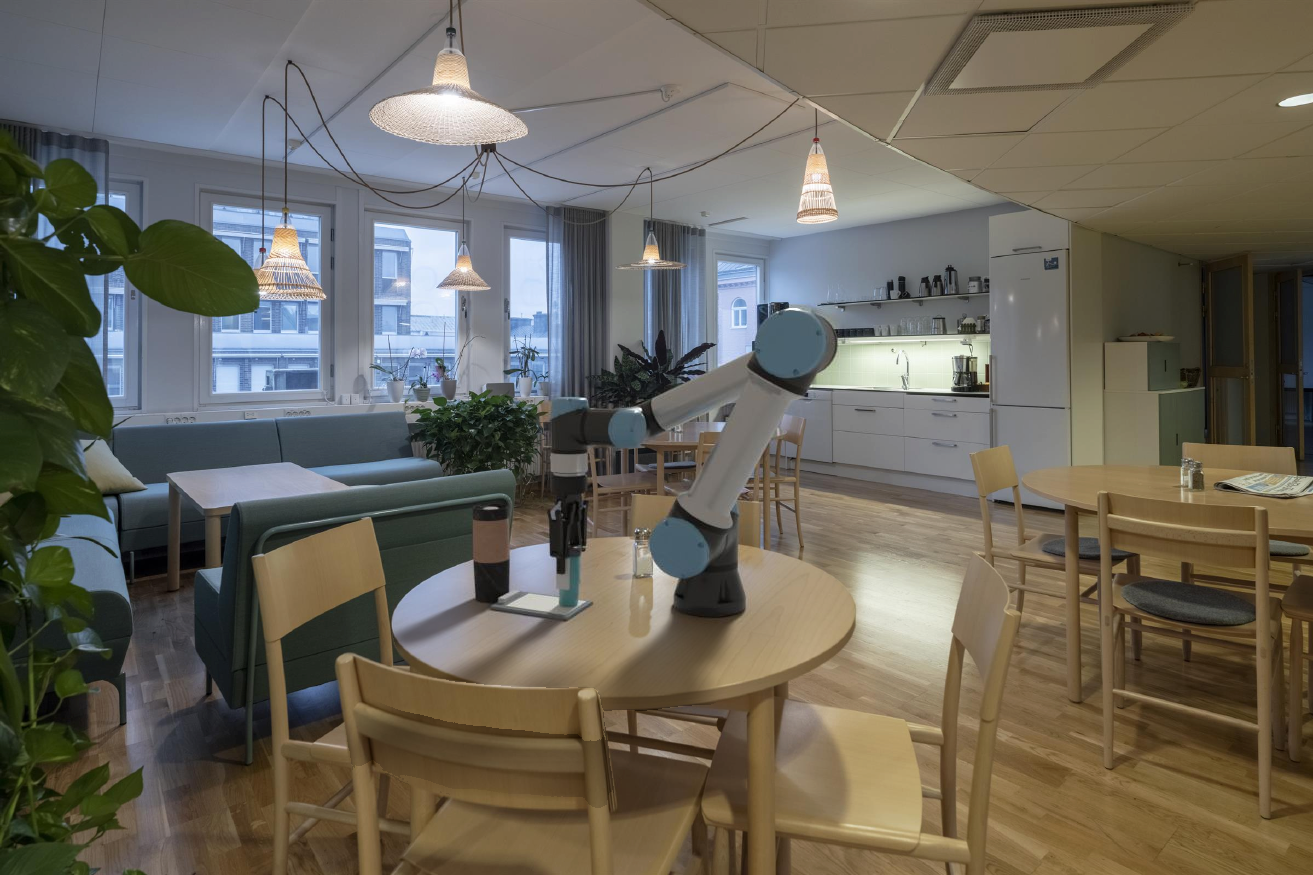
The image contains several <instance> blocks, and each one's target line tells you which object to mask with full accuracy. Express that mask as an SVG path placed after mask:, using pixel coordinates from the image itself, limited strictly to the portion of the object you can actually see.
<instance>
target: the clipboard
mask: <svg viewBox="0 0 1313 875" xmlns="http://www.w3.org/2000/svg"><path fill="white" fill-rule="evenodd" d="M593 604H594V600H588V599H580V598H578V604H577V605H575V606H562V605H560V604H559V595H551V594H543V593H535V592H528V591H521V590H517V589H513V590H510V591H509V593H507V594H505V595H503V596H501V597H499V598H498V602H496V603H493V604H492V605H490V610H496V611H503V612H509V613H514V614H515V613H517V614H521V615H522V614H523V615H528V616H529V615H530V616H536V617H542V618H549V619H555V620H562V621H563V620H564V621H569V620H571V619H572V618H574V617H575V616H577V615H579V613H582V612H583V611H584V610H586V609H588V608H589V607H591V606H592V605H593Z"/></svg>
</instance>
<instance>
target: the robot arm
mask: <svg viewBox="0 0 1313 875" xmlns="http://www.w3.org/2000/svg"><path fill="white" fill-rule="evenodd" d="M838 343H839V342H838V334H837V332H836V330H835V328H834V327H833V325H832V324H831V322H830V321H829V320H827V319H826V318H825V317H823V316H821V315H819V314H816V313H814V312H812V311H809V310H806V309H804V308H799V307H796V308H795V307H793V308H792V307H791V308H786V309H781V310H779V311H776V312H774V313H772V314H771V315H769V316H768V317H766V319H765V320H764V321H763V322H762V323H761V324H760V326H759V327H758V329H757V332H756V334H755V338H754V350H752V351H749V352H747V353H746V354H744V355H741V356H739V357H737V358H734V359H732V360H730V361H729V362H726V363H724V364H722V365H720V366H718V367H716V368H714V369H711V370H710V371H707V372H705V373H703V374H701V375H699V376H697V377H694V378H693V379H691V380H688V381H686V382H683V383H682V384H679V385H677V386H676V387H673V388H671V389H669V390H667V391H665V392H663V393H660V394H658V395H657V396H655V397H653V398H650V399H648V400H645V401H644V402H642V403H640V404H637V405H634V406H626V407H620V408H595V407H593V408H592V407H590V405H589V400H588V399H587V398H586V397H579V396H562V397H561V396H559V397H554V398H553V399H552V400H551V403H550V418H549V422H550V423H549V424H550V456H549V460H550V472H552V473H551V475H550V477H549V478H550V479H549V483H550V484H549V486H550V492H551V493H552V494H554V495H555V501H554V507H553V508H548V509H547V511H546V513H547V517H548V518H547V519H548V530H549V531H548V535H549V539H548V540H549V542H548V543H549V556H550V557H551V558H555V559H556V562H555V564H556V565H555V566H556V567H555V568H556V570H555V574H556V577H555V580H556V581H555V582H556V584H555V589H557V590H559V589H564V590H569V589H570V558H567V556H568V547H569V544H578V545H581V546H582V551H581V553H582V552H583V553H585V552H586V550H587V548H586V546H587V542H588V540H587V539H588V535H587V534H588V509H589V504H590V501H589V500H588V499H585V498H583V494H585V493H587V491H588V482H589V481H588V480H589V479H588V476H589V475H587V474H586V473H587V472H588V470H589V468H588V467H589V463H588V462H589V460H588V459H589V458H588V457H589V456H588V451H589V450H588V448H589V446H591V447H592V446H593V447H594V446H595V447H609V448H619V449H621V450H622V449H623V450H625V449H637V448H640V447H641V445H642V443H644V442H647V441H652V440H653V439H656V438H657V437H659V436H660V435H661V434H663V433H666V432H667V431H669V430H673V429H674V428H676V427H678V426H681V425H683V424H686V423H688V422H690V421H692V420H694V419H697V418H698V417H701V416H703V415H705V414H707V413H709V412H713V411H715V410H717V409H719V408H722V407H724V406H726V405H728V404H730V403H733V402H734V401H735V402H736V403H735V405H734V407H733V408H732V411H731V412H730V414H729V415H728V417H727V420H726V422H725V423H724V424H723V427H722V429H721V431H720V433H719V434H718V436H717V438H716V440H715V442H714V444H713V446H712V448H711V450H710V452H709V454H708V455H707V457H706V459H705V461H704V463H703V465H702V466H701V469H700V471H699V472H698V474H697V476H696V477H695V480H694V481H693V483H692V485H691V487H690V489H689V490H686V491H683V492H679V493H678V494H677V496H676V499H674V502H673V504H672V506H671V508H670V509H669V511H668V513H667V515H666V517H665V518H663V519H661V520H660V521H659V522H657V524H656V525H655V526H654V528H653V529H652V531H651V534H650V536H649V542H648V547H649V552H650V555H651V556H652V559H653V560H652V561H653V563H654V564H655V565H656V566H657V567H658V569H660V570H661V571H662V572H663V573H664V574H666V575H668V576H670V577H672V578H675V579H676V578H677V579H678V581H677V583H676V586H675V589H674V592H673V607H674V609H676V610H677V611H679V612H682V613H685V614H688V615H692V616H697V617H709V618H713V617H727V616H732V615H736V614H739V613H741V612H743V611H744V610H745V609H746V605H747V604H746V603H747V595H746V592H745V589H744V586H743V583H742V579H741V576H740V573H739V566H738V565H739V528H740V526H739V524H740V523H739V522H740V519H739V518H740V512H739V503H738V499H739V497H740V495H741V493H742V491H743V490H744V489H745V487H746V484H747V483H748V481H749V479H750V478H751V476H752V474H753V472H754V470H755V468H756V467H757V465H758V463H759V461H760V459H761V458H762V456H763V454H764V453H765V450H766V449H767V446H768V445H769V443H770V441H771V440H772V438H773V436H774V434H775V432H776V431H777V428H778V427H779V426H780V424H781V421H782V419H783V418H784V417H785V414H786V412H787V411H788V408H789V407H790V406H791V404H792V402H794V401H797V400H799V399H803V398H805V396H806V394H807V392H808V391H809V389H810V387H811V385H812V384H813V382H814V381H815V378H816V377H817V375H818V374H819V373H821V372H823V371H825V370H826V369H827V368H828V367H829V366H830V365H831V363H833V361H834V360H835V358H836V355H837V352H838V347H839V344H838ZM581 566H582V564H581V557H580V576H579V585H580V584H581V569H582V568H581Z"/></svg>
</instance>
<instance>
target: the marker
mask: <svg viewBox="0 0 1313 875" xmlns="http://www.w3.org/2000/svg"><path fill="white" fill-rule="evenodd" d="M581 551H582V546H581V545H578V544H569V547H568V556H567V558H570V589H569V590H564V589H558V591H559V592H558V596H559V604H560V605H562V606H575V605H577V604H578V599H579V594H580V593H579V592H580V584H579V576H580V557H581V555H582V552H581Z"/></svg>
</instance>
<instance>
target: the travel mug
mask: <svg viewBox="0 0 1313 875" xmlns="http://www.w3.org/2000/svg"><path fill="white" fill-rule="evenodd" d="M509 518H510V514H509V505H508V504H504V503H497V502H496V503H493V502H492V503H490V504H488V505H487V506H481V505H480V504H476V505H474V506H473V507H472V548H473V549H472V555H473V557H472V561H473V579H474V580H473V582H474V594H475V600H476V602H479V603H484V604H496V603H498V598H499V597H501V596H503V595H505V594H507V593H509V592H510V572H511V571H510V568H511V567H510V566H511V565H510V562H511V561H510V560H511V558H510V557H511V556H510V553H511V550H510V549H511V548H510V547H511V546H510V523H509V522H510V521H509V520H510V519H509Z"/></svg>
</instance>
